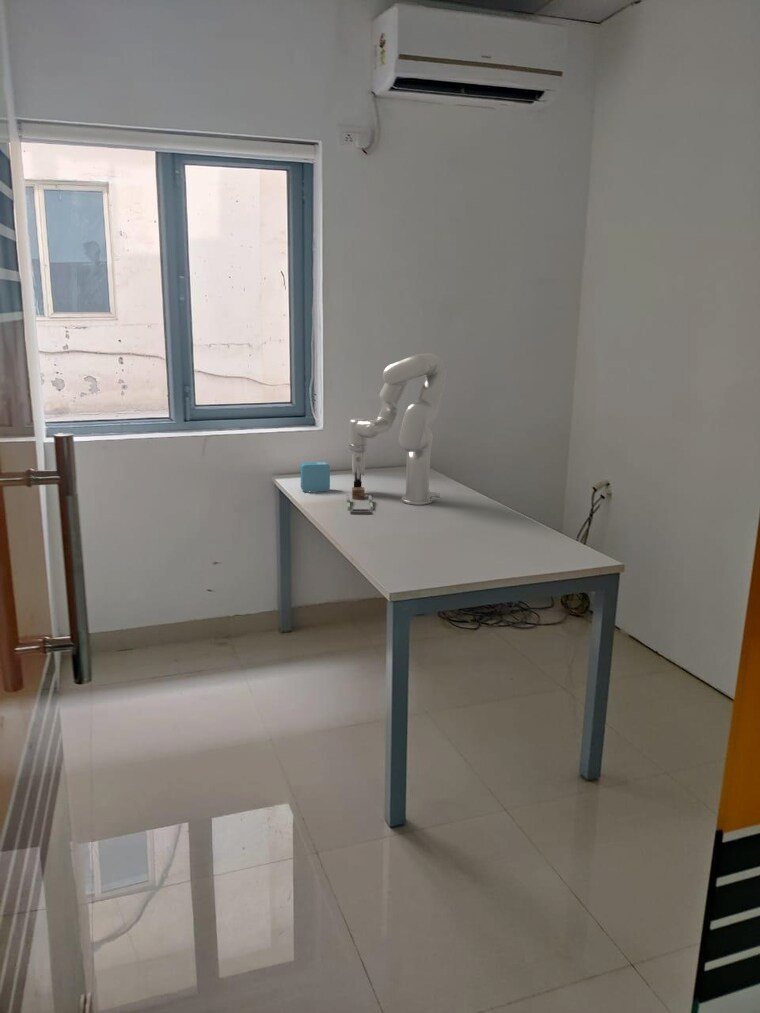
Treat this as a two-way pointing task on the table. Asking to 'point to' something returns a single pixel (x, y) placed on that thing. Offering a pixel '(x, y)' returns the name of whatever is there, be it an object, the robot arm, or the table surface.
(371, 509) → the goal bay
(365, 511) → the tray
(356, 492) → the walnut block
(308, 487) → the data package
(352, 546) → the table surface
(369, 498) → the walled lane
